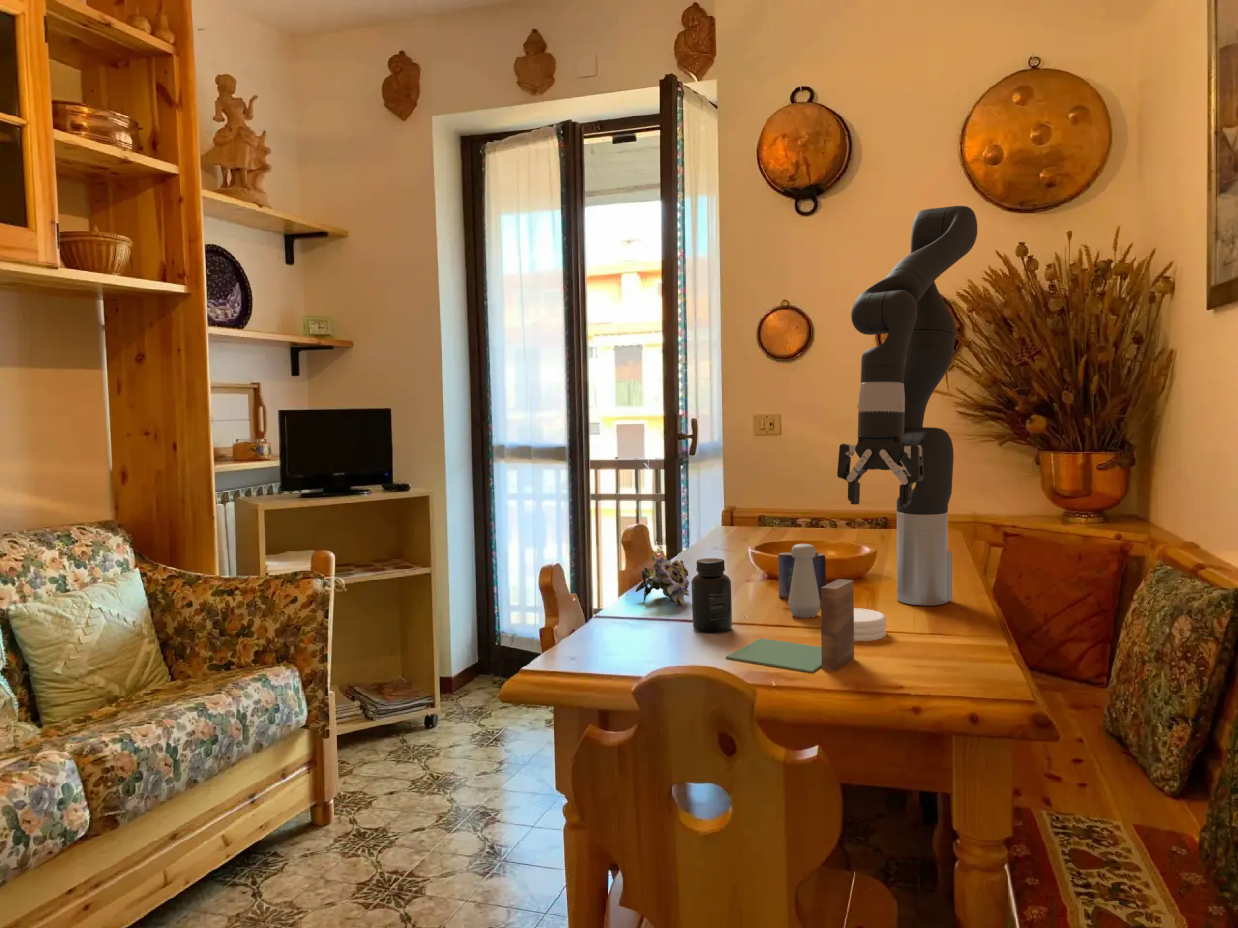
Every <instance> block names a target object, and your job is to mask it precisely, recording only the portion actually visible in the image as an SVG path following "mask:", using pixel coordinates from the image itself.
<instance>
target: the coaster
mask: <svg viewBox="0 0 1238 928" xmlns="http://www.w3.org/2000/svg"><path fill="white" fill-rule="evenodd" d="M886 622H887V617H886V615H884V614H883V613H882V612H880V611H877V610H872V609H868V608H861V607H859V608H858V607H854V642H857V641H863V642H872V641H873V640H874V641H878V639H879V640H881V639H884V638H885V637H886V635H887V631H886V628H887V624H886Z"/></svg>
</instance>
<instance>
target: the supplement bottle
mask: <svg viewBox="0 0 1238 928" xmlns="http://www.w3.org/2000/svg"><path fill="white" fill-rule="evenodd" d="M725 571H726V568H725V560H724V559H723V558H713V557H712V558H711V557H707V558H701V559H700V558H699V559H697V560H696V573H697V574H696V575H695V576H694V577H693V578H692V579H691V614H692V628H693V629H694V630H695V631H697V632H699V633H704V634H705V633H706V634H719V633H725V632H728V631H730V630H731V629H732V627H733V608H732V607H733V606H732V582H731V581H732V580H731V578H730V577H729V576H728V575H727V574H725Z"/></svg>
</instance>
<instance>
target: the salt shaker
mask: <svg viewBox="0 0 1238 928" xmlns="http://www.w3.org/2000/svg"><path fill="white" fill-rule="evenodd" d="M816 552H817V550H816V547H815V546H814V545H813V544H810V543H797V544H794V545H793V546H792V548H791V553H792V557H793V558H795V563H794V569H793V575H792V582H791V588H790V594H789V599H787V600H788V601H787V604H788V607H789V610H790V612H791V615H792V616H793V617H795V616H796V617H795V618H798V617H800V618H799V619H811V618H810V617H812V618H814V617H813V616H816V617H817V615H818V613H819V610H820V609H821V601H820V598H819V592H818V587H817V582H816V576H815V571H814V565H813V560H812V558H814V557H815V555H816Z"/></svg>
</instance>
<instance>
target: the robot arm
mask: <svg viewBox="0 0 1238 928" xmlns="http://www.w3.org/2000/svg"><path fill="white" fill-rule="evenodd" d="M977 237H978V220H977V216H976V213H975V211H974V210H973V209H972V208H971V207H969V206H965V205H952V206H944V207H935V208H933V207H932V208H927V209H922V210H920V211H918V212H917V213H916V215H915V216H914V219H913V221H912V227H911V238H910V254H908V255H907V256H905V257H903V258H902V259H900V260H899V261H898V262H897V263H896V265H894V267H893V268H892V269H891V270H890V271H889V273H888V274H887V276H886V277H885V278H883V279H881V280H880V281H877V282H876V283H874V284H873V285H871V286H870V287H868V288H867V289H865V290H864V291H863V292H861V293H860V294H859V296H857V298H856V299H855V301H854V303H853V305H852V309H851V313H850V317H851V322H852V325H853V327H854V328H855V330H857V331H858V332H859V333H860V334H862V335H866V336H867V335H868V336H873V335H875V336H876V335H885V334H887V336H886V337H885V339H884V342H883V343H882V344H880V345H878V346H874V347H871V348H869V349H866V350H865V351H863V353H862V355H861V361H860V363H861V364H860V385H859V386H860V388H859V393H858V403H857V409H858V410H857V411H858V413H857V442H856V444H851V443H850V444H849V443H841V444H840V445H839V448H838V449H839V450H838V459H837V471H836V475H837V476H836V477H837V478H838V479H843V480H844V481H846V482H847V499H848V501H850V504H851V505H859V504H860V499H861V497H860V496H861V493H860V492H861V482H859V480H860V479H861V478H863V477H862V476H863V475H864V474H865V473H866V472H868V471H869V470H875V471H876V470H880V471H891V472H892V474H893V475H895V476H896V477H897V478H896V479H898V481H899V482H900V483H901V484H899V493H898V494H899V495H898V497H897V499H896V600H897V601H898V602H900V603H903V604H908V605H915V606H939V605H940V606H941V605H945V604H947V603H949V602H953V551H951V550H949V517H948V516H949V502H950V500H951V498H952V497H951V496H952V491H953V475H954V474H953V473H954V458H955V457H954V446H953V442H952V438H951V436H950V435H949V433H948V432H947V431H946V430H944V429H943V428H942V427H941V428H939V427H931V426H930V427H928V426H927V427H926V426H925V427H924V419H925V414H926V408H927V405H928V402H929V401H930V398H931V396H932V395H933V393H934V391H935V390H936V388H937V387H938V386H939V384H940V382H941V381H942V379H943V378H944V376H945V375H946V373H947V372H948V370H949V368H950V366H951V364H952V361H953V355H954V349H955V348H954V347H955V338H956V329H957V328H956V323H955V320H954V317H953V315H952V313H951V311H950V309H949V307H948V306H947V304H946V302H945V300H944V299H943V297H942V295H941V293H940V292H939V289H938V288H937V287H938V286H937V285H936V283H935V281H936V280H937V279H938V278H939V277H940V276H941V275H943V273H944V272H946V271H947V270H949V268H951V267H952V266H953V265H954V264H956V263H957V262H958V261H959V260H961V259H962V258H963V257H965V256H966V255H967V254H968V253H969V252H970V251H972V249H973V247H974V245H975V244H976V241H977ZM855 453H856V455H857V456H858V457H859V459H858V461H857V462H856V463H855V464H854V466H853V469H852V470H851V463H852V462H851V460H852V459H851V458H852V457H853V456H854V454H855ZM914 483H915V486H914V488H913V484H914Z"/></svg>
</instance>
